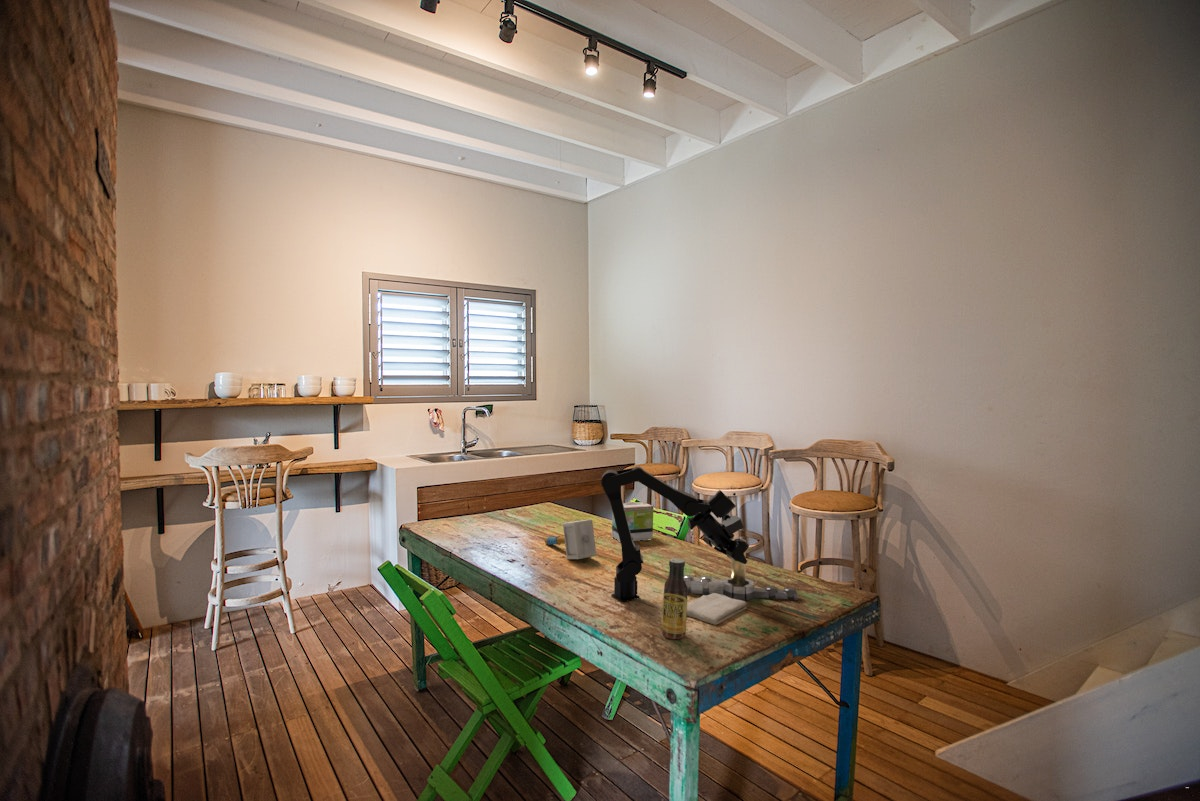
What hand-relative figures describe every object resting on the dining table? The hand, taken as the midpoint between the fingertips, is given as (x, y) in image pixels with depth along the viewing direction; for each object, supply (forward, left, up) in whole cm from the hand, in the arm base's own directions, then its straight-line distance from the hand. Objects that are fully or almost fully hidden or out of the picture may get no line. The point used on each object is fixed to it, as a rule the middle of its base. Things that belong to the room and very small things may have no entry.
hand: (742, 560), depth 182 cm
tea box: (+12, +71, -11) cm, 73 cm away
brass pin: (-1, 0, -7) cm, 7 cm away
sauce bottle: (-38, -11, -11) cm, 41 cm away
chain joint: (-1, 0, -11) cm, 11 cm away
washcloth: (-17, -5, -11) cm, 21 cm away
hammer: (-22, +70, -11) cm, 74 cm away
